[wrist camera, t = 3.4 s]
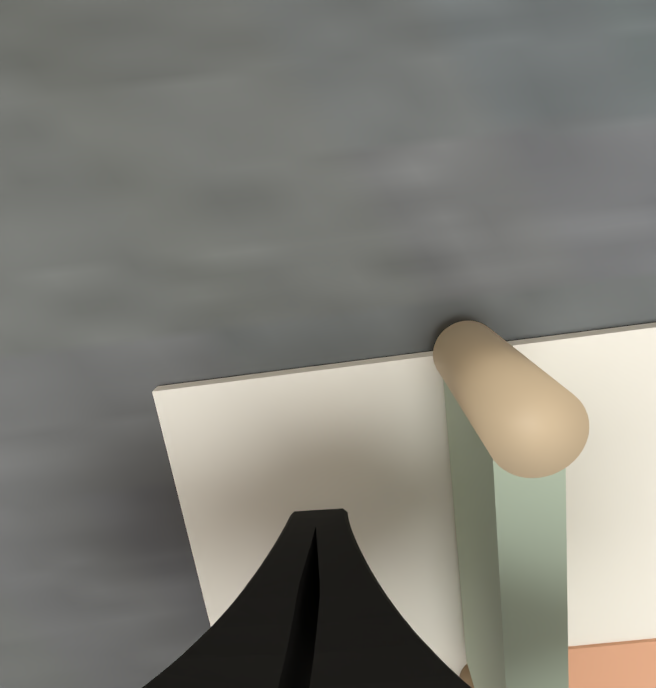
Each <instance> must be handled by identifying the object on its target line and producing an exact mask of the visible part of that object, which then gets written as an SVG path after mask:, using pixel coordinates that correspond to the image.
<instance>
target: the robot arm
mask: <svg viewBox="0 0 656 688" xmlns="http://www.w3.org/2000/svg"><path fill="white" fill-rule="evenodd" d="M143 688H471V687H470V686H469V685H468V684H467V683H466V682H464V681H463V680H462V679H461V678H460V677H459V676H458V675H457V674H456V673H455V672H454V671H453V670H451V669H450V668H449V667H448V666H447V665H446V664H445V663H444V662H443V661H442V660H441V659H440V658H439V657H438V656H437V655H436V654H435V653H434V652H433V651H432V649H431V648H430V647H429V646H428V645H427V644H426V643H425V642H424V641H423V640H422V639H421V638H420V637H419V636H418V635H417V634H416V632H415V631H414V630H413V629H412V628H411V626H410V625H409V624H408V623H407V621H406V620H405V619H404V618H403V617H402V615H401V614H400V613H399V611H398V610H397V609H396V607H395V606H394V605H393V603H392V602H391V601H390V599H389V598H388V596H387V595H386V593H385V592H384V590H383V589H382V587H381V586H380V584H379V582H378V581H377V579H376V578H375V576H374V574H373V573H372V571H371V569H370V567H369V566H368V564H367V562H366V560H365V558H364V556H363V554H362V552H361V550H360V548H359V546H358V544H357V541H356V539H355V537H354V534H353V532H352V529H351V526H350V522H349V518H348V512H347V511H346V510H344V509H343V508H340V509H324V510H308V511H294V512H293V513H292V514H291V515H290V517H289V519H288V521H287V523H286V525H285V527H284V529H283V530H282V532H281V534H280V536H279V537H278V539H277V541H276V542H275V544H274V546H273V547H272V549H271V550H270V552H269V553H268V555H267V557H266V558H265V560H264V561H263V563H262V564H261V566H260V567H259V569H258V570H257V572H256V573H255V574H254V576H253V577H252V578H251V580H250V581H249V582H248V584H247V585H246V586H245V588H244V589H243V590H242V592H241V593H240V594H239V596H238V597H237V598H236V599H235V600H234V602H233V603H232V604H231V605H230V606H229V608H228V609H227V610H226V611H225V612H224V613H223V614H222V616H221V617H220V618H219V619H218V620H217V621H216V622H215V623H214V624H213V625H212V627H211V628H210V629H209V630H208V631H207V632H206V633H205V634H204V635H203V636H202V637H201V638H200V639H199V640H198V641H197V642H195V643H194V644H193V645H192V646H191V647H190V648H189V649H188V650H187V651H186V652H185V653H184V654H183V655H182V656H181V657H179V658H178V659H177V660H176V661H175V662H174V663H172V664H171V665H170V666H169V667H168V668H166V669H165V670H164V671H163V672H162V673H160V674H159V675H158V676H157V677H155V678H154V679H153V680H152V681H150V682H149V683H148V684H146V685H145V686H144V687H143Z"/></svg>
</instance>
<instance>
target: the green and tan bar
mask: <svg viewBox="0 0 656 688" xmlns="http://www.w3.org/2000/svg"><path fill="white" fill-rule="evenodd" d="M433 360H434V364H435V366H436V368H437V370H438V372H439V373H440V375H441V376H442V378H443V382H444V395H445V407H446V419H447V431H448V443H449V455H450V467H451V479H452V491H453V503H454V516H455V528H456V540H457V552H458V564H459V576H460V588H461V600H462V612H463V625H464V637H465V649H466V661H467V664H468V668H469V671H470V675H471V678H472V681H473V685H474V688H569V677H568V605H567V534H566V467H567V466H569V465H570V464H571V463H572V462H573V461H575V459H576V458H577V457H578V456H579V455H580V453H581V452H582V450H583V448H584V446H585V444H586V442H587V439H588V435H589V419H588V414H587V412H586V409H585V407H584V406H583V404H582V403H581V401H580V400H579V399H578V398H577V397H576V396H575V395H574V394H572V393H571V392H570V391H569V390H567V389H566V388H565V387H563V386H562V385H561V384H560V383H558V382H557V381H556V380H555V379H553V378H552V377H551V376H550V375H548V374H547V373H546V372H544V371H543V370H542V369H541V368H539V367H538V366H537V365H536V364H534V363H533V362H532V361H531V360H529V359H528V358H527V357H525V356H524V355H523V354H522V353H520V352H519V351H518V350H517V349H515V348H514V347H513V346H512V345H510V344H509V343H508V342H506V341H505V340H504V339H503V338H501V337H500V336H499V335H498V334H496V333H495V332H494V331H493V330H491V329H490V328H489V327H487V326H486V325H484V324H482V323H480V322H476V321H461V322H457V323H454V324H452V325H450V326H449V327H447V328H446V329H445V330H444V331H443V332H442V333H441V334H440V335H439V337H438V338H437V340H436V342H435V345H434V349H433Z"/></svg>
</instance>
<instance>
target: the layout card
mask: <svg viewBox="0 0 656 688" xmlns="http://www.w3.org/2000/svg"><path fill="white" fill-rule="evenodd" d="M507 342H508V343H509V344H510V345H512V346H513V347H514V348H515V349H517V350H518V351H519V352H520V353H522V354H523V355H524V356H525V357H527V358H528V359H529V360H531V361H532V362H533V363H534V364H536V365H537V366H538V367H539V368H541V369H542V370H543V371H544V372H546V373H547V374H548V375H550V376H551V377H552V378H553V379H555V380H556V381H557V382H558V383H560V384H561V385H562V386H563V387H565V388H566V389H567V390H569V391H570V392H571V393H572V394H574V395H575V396H576V397H577V398H578V399H579V400H580V401H581V403H582V404H583V406H584V407H585V409H586V412H587V414H588V419H589V435H588V439H587V442H586V444H585V446H584V448H583V450H582V452H581V453H580V455H579V456H578V457H577V458H576V459H575V461H573V462H572V463H571V464H570V465H569V466H567V467H566V534H567V605H568V677H569V688H656V322H655V323H647V324H639V325H631V326H623V327H616V328H608V329H600V330H592V331H584V332H577V333H569V334H561V335H553V336H545V337H538V338H530V339H522V340H514V341H507ZM152 393H153V397H154V401H155V405H156V409H157V413H158V417H159V421H160V425H161V429H162V433H163V437H164V441H165V445H166V449H167V453H168V457H169V461H170V465H171V469H172V473H173V477H174V481H175V485H176V489H177V493H178V497H179V501H180V505H181V509H182V513H183V517H184V521H185V525H186V529H187V533H188V537H189V541H190V545H191V549H192V553H193V557H194V561H195V565H196V569H197V573H198V578H199V582H200V586H201V590H202V594H203V598H204V602H205V606H206V610H207V614H208V618H209V622H210V626H211V627H212V625H213V624H214V623H215V622H216V621H217V620H218V619H219V618H220V617H221V616H222V614H223V613H224V612H225V611H226V610H227V609H228V608H229V606H230V605H231V604H232V603H233V602H234V600H235V599H236V598H237V597H238V596H239V594H240V593H241V592H242V590H243V589H244V588H245V586H246V585H247V584H248V582H249V581H250V580H251V578H252V577H253V576H254V574H255V573H256V572H257V570H258V569H259V567H260V566H261V564H262V563H263V561H264V560H265V558H266V557H267V555H268V553H269V552H270V550H271V549H272V547H273V546H274V544H275V542H276V541H277V539H278V537H279V536H280V534H281V532H282V530H283V529H284V527H285V525H286V523H287V521H288V519H289V517H290V515H291V514H292V513H293V512H294V511H308V510H324V509H340V508H343V509H344V510H346V511H347V512H348V518H349V522H350V526H351V529H352V532H353V534H354V537H355V539H356V541H357V544H358V546H359V548H360V550H361V552H362V554H363V556H364V558H365V560H366V562H367V564H368V566H369V567H370V569H371V571H372V573H373V574H374V576H375V578H376V579H377V581H378V582H379V584H380V586H381V587H382V589H383V590H384V592H385V593H386V595H387V596H388V598H389V599H390V601H391V602H392V603H393V605H394V606H395V607H396V609H397V610H398V611H399V613H400V614H401V615H402V617H403V618H404V619H405V620H406V621H407V623H408V624H409V625H410V626H411V628H412V629H413V630H414V631H415V632H416V634H417V635H418V636H419V637H420V638H421V639H422V640H423V641H424V642H425V643H426V644H427V645H428V646H429V647H430V648H431V649H432V651H433V652H434V653H435V654H436V655H437V656H438V657H439V658H440V659H441V660H442V661H443V662H444V663H445V664H446V665H447V666H448V667H449V668H450V669H451V670H453V671H454V672H455V673H456V674H457V675H458V676H460V672H461V670H462V669H463V667H464V666H465V665H466V664H467V661H466V649H465V637H464V625H463V612H462V600H461V588H460V576H459V564H458V552H457V540H456V528H455V516H454V503H453V491H452V479H451V467H450V455H449V443H448V431H447V419H446V407H445V395H444V382H443V378H442V376H441V375H440V373H439V372H438V370H437V368H436V366H435V364H434V360H433V351H429V352H421V353H413V354H405V355H398V356H390V357H382V358H374V359H366V360H359V361H351V362H343V363H335V364H327V365H320V366H312V367H304V368H296V369H288V370H281V371H273V372H265V373H257V374H250V375H242V376H234V377H226V378H218V379H211V380H203V381H195V382H187V383H179V384H172V385H164V386H157V387H156V388H155V389H154V390H153V391H152Z"/></svg>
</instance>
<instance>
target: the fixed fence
mask: <svg viewBox="0 0 656 688" xmlns="http://www.w3.org/2000/svg"><path fill="white" fill-rule="evenodd" d="M459 677H460V678H461V679H462V680H463V681H464V682H466V683H467V684H468V685H469V686H470V687H471V688H474V685H473V681H472V678H471V675H470V671H469V668H468V664H466V665H465V666H464V667H463V669H462V670H461V672H460V676H459Z"/></svg>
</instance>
